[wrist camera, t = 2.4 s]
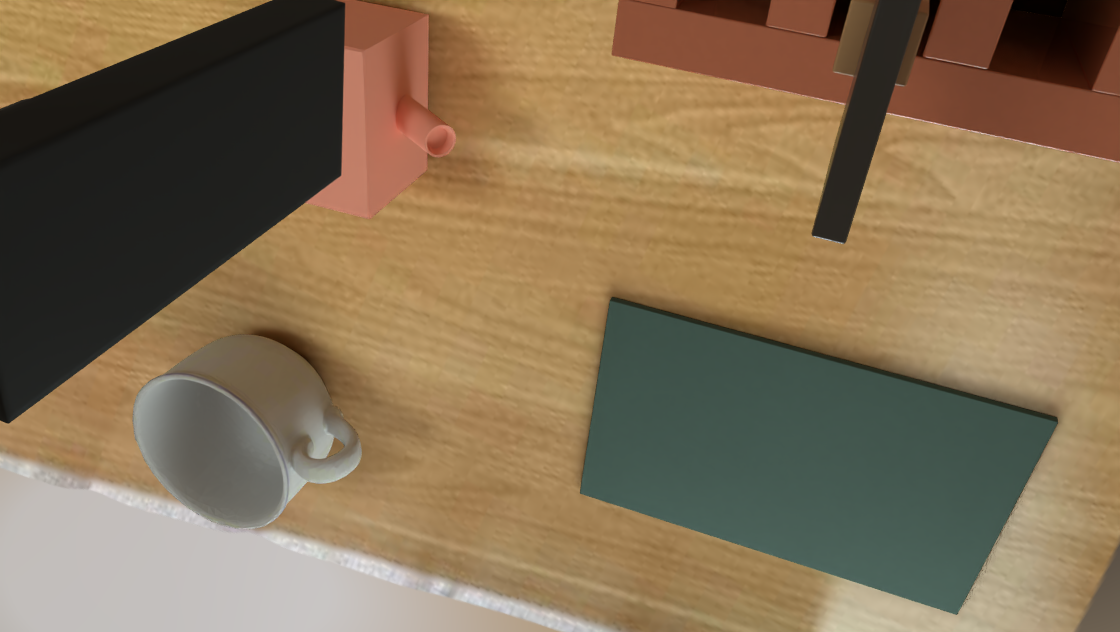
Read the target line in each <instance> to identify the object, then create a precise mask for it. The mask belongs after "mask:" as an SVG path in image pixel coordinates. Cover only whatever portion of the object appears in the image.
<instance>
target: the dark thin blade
mask: <svg viewBox="0 0 1120 632" xmlns="http://www.w3.org/2000/svg"><path fill="white" fill-rule="evenodd" d="M928 17H929V0H851V2H850V6H849V10H848V13H847V17H846V21H845V25H844V28H843V32H842V36H841V39H840V43H839V47H838V50H837V54H836V58H835V61H834V65H833V69H832V70H833V72H834V73H839V74H844V75H849V76H854V77H853V81H852V84H851V88H850V91H849V95H848V98H847V102H846V105H845V109H844V112H843V116H842V119H841V123H840V126H839V130H838V133H837V137H836V140H835V144H834V148H833V152H832V155H831V159H830V163H829V167H828V171H827V175H826V179H825V183H824V187H823V191H822V195H821V198H820V202H819V206H818V210H817V214H816V218H815V222H814V226H813V230H812V236H813V237H817V238H821V239H825V240H829V241H833V242H837V243H842V244H844V243H845V242H846V240H847V237H848V234H849V231H850V228H851V224H852V221H853V218H854V215H855V212H856V208H857V205H858V202H859V199H860V196H861V192H862V189H863V186H864V183H865V180H866V176H867V173H868V170H869V167H870V164H871V160H872V157H873V154H874V151H875V148H876V145H877V141H878V138H879V135H880V132H881V129H882V125H883V122H884V119H885V116H886V113H887V109H888V106H889V103H890V100H891V97H892V93H893V90H894V87H895V85H898V86H906V85H907V82H908V79H909V76H910V73H911V70H912V67H913V63H914V60H915V57H916V54H917V51H918V48H919V45H920V42H921V38H922V35H923V32H924V29H925V26H926V23H927V20H928Z"/></svg>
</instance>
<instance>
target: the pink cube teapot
mask: <svg viewBox="0 0 1120 632" xmlns="http://www.w3.org/2000/svg"><path fill="white" fill-rule="evenodd" d="M336 1H340V2H344V3H345V41H344V85H343V130H342V174H341V176H340V177H339V178H337V179H336V180H335V181H333V182H332V183H331V184H329V185H328V186H327V187H325V188H324V189H323V190H321V191H320V192H319V193H317V194H316V195H315V196H313V197H312V198H311V199H309V200H308V201H307V202H305V203H308V204H312V205H316V206H320V207H324V208H328V209H332V210H336V211H340V212H344V213H348V214H352V215H356V216H359V217H363V218H366V219H371V218H372V217H373V216H374V215H375V214H376V213H378V212H379V211H380V210H381V209H382V208H383V207H385V206H386V205H387V204H388V203H389V202H390V201H392V200H393V199H394V198H395V197H396V196H397V195H399V194H400V193H401V192H402V191H403V190H404V189H406V188H407V187H408V186H409V185H410V184H411V183H413V182H414V181H415V180H416V179H417V178H418V177H420V176H421V175H422V174H423V173H424V172H425V171H426V170H427V153H428V154H430V155H431V156H433V157H443V156H445V155H447V154H448V153H449V152H450V151H451V150H452V149H453V147H454V145H455V142H456V135H455V132H454V130H453V129H452V128H451V127H450V126H448V125H447V124H446V123H445V122H443V121H442V120H441V119H439V118H438V117H437V116H435V115H434V114H433V113H431V112H430V111H429V110H428V49H429V15H428V14H423V13H418V12H413V11H408V10H403V9H398V8H393V7H388V6H383V5H378V4H373V3H368V2H363V1H358V0H336Z"/></svg>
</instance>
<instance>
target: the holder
mask: <svg viewBox="0 0 1120 632" xmlns="http://www.w3.org/2000/svg"><path fill="white" fill-rule="evenodd" d="M1013 1H1014V0H929V17H928V20H927V23H926V26H925V29H924V32H923V35H922V38H921V42H920V45H919V48H918V51H917V54H916V57H915V60H914V63H913V67H912V70H911V73H910V76H909V79H908V82H907V85H906V86H898V85H895V87H894V90H893V93H892V97H891V100H890V103H889V106H888V109H887V114H891V115H896V116H901V117H906V118H910V119H915V120H920V121H924V122H929V123H934V124H939V125H943V126H948V127H953V128H958V129H962V130H967V131H972V132H976V133H981V134H986V135H991V136H995V137H1000V138H1005V139H1010V140H1014V141H1019V142H1024V143H1028V144H1033V145H1038V146H1043V147H1047V148H1052V149H1057V150H1062V151H1066V152H1071V153H1076V154H1080V155H1085V156H1090V157H1095V158H1099V159H1104V160H1109V161H1114V162H1118V163H1120V0H1068V1H1067V3H1066V6H1065V8H1064V11H1063V13H1062V16H1061V18H1059V17H1054V16H1048V15H1043V14H1037V13H1032V12H1026V11H1021V10H1016V9H1011V6H1012V3H1013ZM850 2H851V0H619V2H618V9H617V17H616V24H615V32H614V39H613V47H612V55H613V56H617V57H622V58H626V59H631V60H636V61H641V62H645V63H650V64H655V65H660V66H664V67H669V68H674V69H678V70H683V71H688V72H693V73H697V74H702V75H707V76H712V77H716V78H721V79H726V80H731V81H735V82H740V83H745V84H749V85H754V86H759V87H764V88H768V89H773V90H778V91H783V92H787V93H792V94H797V95H801V96H806V97H811V98H816V99H820V100H825V101H830V102H835V103H839V104H844V105H846V102H847V98H848V95H849V91H850V88H851V84H852V81H853V77H854V76H849V75H844V74H839V73H834V72H833V70H832V69H833V65H834V61H835V58H836V54H837V50H838V47H839V43H840V39H841V36H842V32H843V28H844V25H845V21H846V17H847V13H848V10H849V6H850Z"/></svg>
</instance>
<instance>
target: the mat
mask: <svg viewBox="0 0 1120 632" xmlns="http://www.w3.org/2000/svg"><path fill="white" fill-rule="evenodd" d="M1057 424H1058V419H1057V417H1053V416H1049V415H1046V414H1042V413H1038V412H1035V411H1031V410H1027V409H1024V408H1020V407H1016V406H1013V405H1009V404H1005V403H1002V402H998V401H994V400H990V399H987V398H983V397H979V396H976V395H972V394H968V393H965V392H961V391H957V390H954V389H950V388H946V387H942V386H939V385H935V384H931V383H928V382H924V381H920V380H917V379H913V378H909V377H906V376H902V375H898V374H895V373H891V372H887V371H883V370H880V369H876V368H872V367H869V366H865V365H861V364H858V363H854V362H850V361H847V360H843V359H839V358H835V357H832V356H828V355H824V354H821V353H817V352H813V351H810V350H806V349H802V348H799V347H795V346H791V345H788V344H784V343H780V342H776V341H773V340H769V339H765V338H762V337H758V336H754V335H751V334H747V333H743V332H740V331H736V330H732V329H728V328H725V327H721V326H717V325H714V324H710V323H706V322H703V321H699V320H695V319H692V318H688V317H684V316H681V315H677V314H673V313H669V312H666V311H662V310H658V309H655V308H651V307H647V306H644V305H640V304H636V303H633V302H629V301H625V300H621V299H618V298H614V297H612V298H611V300H610V303H609V309H608V316H607V322H606V329H605V335H604V341H603V348H602V354H601V361H600V367H599V374H598V380H597V386H596V393H595V399H594V406H593V412H592V419H591V425H590V431H589V438H588V444H587V451H586V457H585V463H584V470H583V476H582V483H581V489H580V494H583V495H586V496H589V497H592V498H596V499H599V500H602V501H605V502H608V503H611V504H614V505H617V506H620V507H623V508H627V509H630V510H633V511H636V512H639V513H642V514H645V515H648V516H651V517H654V518H658V519H661V520H664V521H667V522H670V523H673V524H676V525H679V526H682V527H686V528H689V529H692V530H695V531H698V532H701V533H704V534H707V535H710V536H713V537H717V538H720V539H723V540H726V541H729V542H732V543H735V544H738V545H741V546H745V547H748V548H751V549H754V550H757V551H760V552H763V553H766V554H769V555H772V556H776V557H779V558H782V559H785V560H788V561H791V562H794V563H797V564H800V565H804V566H807V567H810V568H813V569H816V570H819V571H822V572H825V573H828V574H831V575H835V576H838V577H841V578H844V579H847V580H850V581H853V582H856V583H859V584H863V585H866V586H869V587H872V588H875V589H878V590H881V591H884V592H887V593H890V594H894V595H897V596H900V597H903V598H906V599H909V600H912V601H915V602H918V603H922V604H925V605H928V606H931V607H934V608H937V609H940V610H943V611H946V612H949V613H953V614H956V615H957V614H958V612H959V610H960V608H961V606H962V604H963V602H964V600H965V599H966V597H967V595H968V593H969V591H970V589H971V587H972V585H973V583H974V581H975V580H976V578H977V576H978V574H979V572H980V570H981V568H982V566H983V564H984V562H985V561H986V559H987V557H988V555H989V553H990V551H991V549H992V547H993V545H994V543H995V542H996V540H997V538H998V536H999V534H1000V532H1001V530H1002V528H1003V526H1004V524H1005V523H1006V521H1007V519H1008V517H1009V515H1010V513H1011V511H1012V509H1013V507H1014V505H1015V503H1016V502H1017V500H1018V498H1019V496H1020V494H1021V492H1022V490H1023V488H1024V486H1025V484H1026V483H1027V481H1028V479H1029V477H1030V475H1031V473H1032V471H1033V469H1034V467H1035V465H1036V464H1037V462H1038V460H1039V458H1040V456H1041V454H1042V452H1043V450H1044V448H1045V446H1046V445H1047V443H1048V441H1049V439H1050V437H1051V435H1052V433H1053V431H1054V429H1055V427H1056V426H1057Z"/></svg>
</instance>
